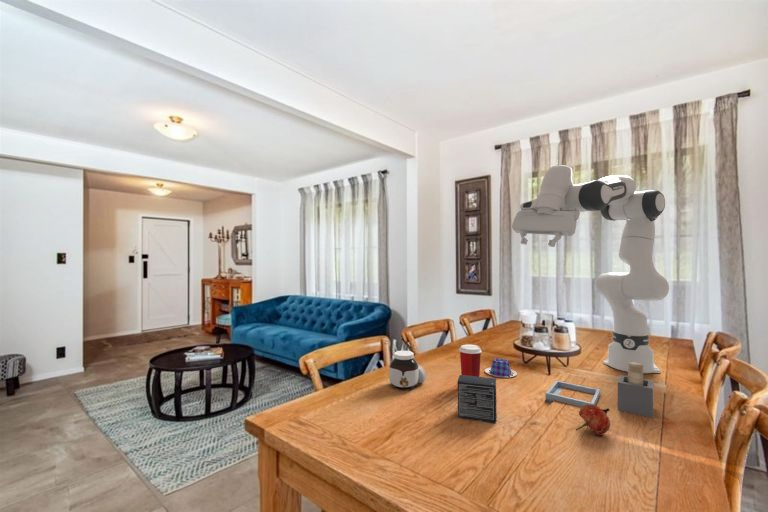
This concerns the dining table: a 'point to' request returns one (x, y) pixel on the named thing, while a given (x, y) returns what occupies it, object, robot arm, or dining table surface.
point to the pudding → (500, 368)
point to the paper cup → (470, 360)
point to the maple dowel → (635, 373)
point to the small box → (477, 398)
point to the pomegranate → (595, 418)
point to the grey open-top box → (635, 397)
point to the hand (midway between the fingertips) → (536, 244)
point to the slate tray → (556, 389)
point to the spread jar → (405, 371)
